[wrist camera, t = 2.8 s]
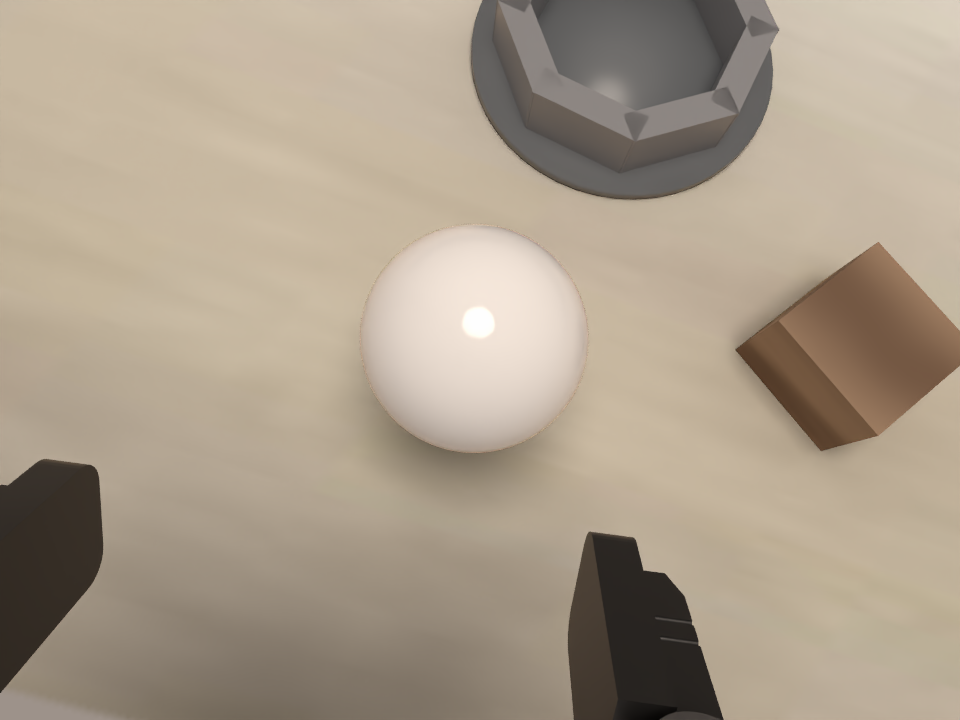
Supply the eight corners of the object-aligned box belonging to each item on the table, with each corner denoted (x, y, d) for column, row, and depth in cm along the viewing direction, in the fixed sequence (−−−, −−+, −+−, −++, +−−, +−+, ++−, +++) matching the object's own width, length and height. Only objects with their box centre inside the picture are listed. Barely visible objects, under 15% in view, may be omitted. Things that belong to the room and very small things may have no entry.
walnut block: (819, 451, 29) (878, 435, 25) (734, 350, 30) (778, 320, 26) (907, 376, 30) (977, 350, 26) (823, 280, 31) (878, 241, 27)
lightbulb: (489, 286, 30) (519, 139, 19) (578, 421, 29) (663, 344, 18) (348, 368, 29) (299, 260, 18) (436, 512, 28) (437, 487, 17)
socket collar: (528, 234, 31) (538, 201, 28) (433, -28, 33) (433, -83, 30) (815, 154, 32) (852, 114, 29) (701, -90, 35) (725, -147, 32)
